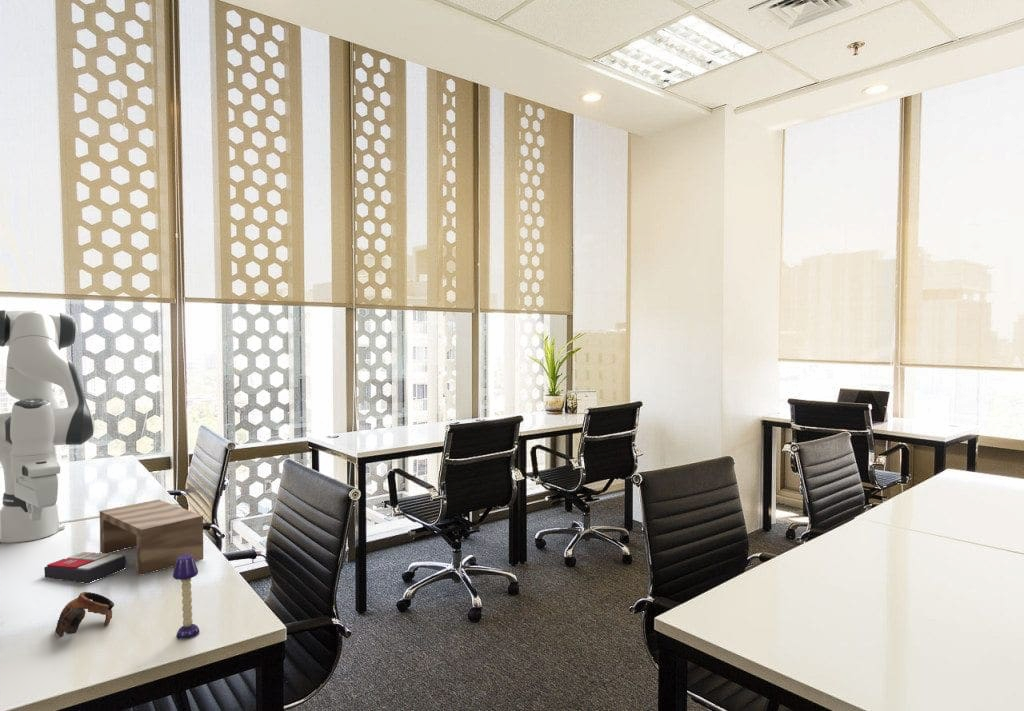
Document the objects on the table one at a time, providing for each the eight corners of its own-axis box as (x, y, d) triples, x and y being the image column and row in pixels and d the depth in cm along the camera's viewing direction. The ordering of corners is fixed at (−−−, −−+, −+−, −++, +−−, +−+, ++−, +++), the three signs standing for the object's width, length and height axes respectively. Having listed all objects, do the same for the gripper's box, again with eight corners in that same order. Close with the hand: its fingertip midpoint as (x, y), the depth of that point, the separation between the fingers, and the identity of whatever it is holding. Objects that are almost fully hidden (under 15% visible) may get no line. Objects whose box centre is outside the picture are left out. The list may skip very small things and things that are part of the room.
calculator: (83, 550, 169) (126, 553, 164) (84, 565, 169) (126, 568, 165) (43, 564, 158) (87, 567, 154) (43, 581, 158) (88, 584, 154)
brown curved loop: (62, 623, 134) (85, 586, 136) (104, 640, 135) (126, 603, 137) (34, 634, 122) (60, 594, 125) (79, 653, 123) (104, 613, 126)
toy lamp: (193, 640, 126) (192, 560, 125) (169, 640, 125) (168, 560, 125) (202, 629, 131) (202, 551, 130) (180, 629, 130) (179, 552, 130)
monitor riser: (100, 552, 177) (99, 510, 176) (159, 537, 189) (158, 499, 189) (141, 575, 160) (141, 529, 159) (203, 557, 172) (203, 515, 172)
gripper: (5, 461, 156) (6, 515, 156) (31, 471, 144) (32, 530, 144) (35, 457, 161) (36, 510, 161) (63, 467, 149) (64, 523, 149)
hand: (34, 519), depth 152 cm, fingers closed
